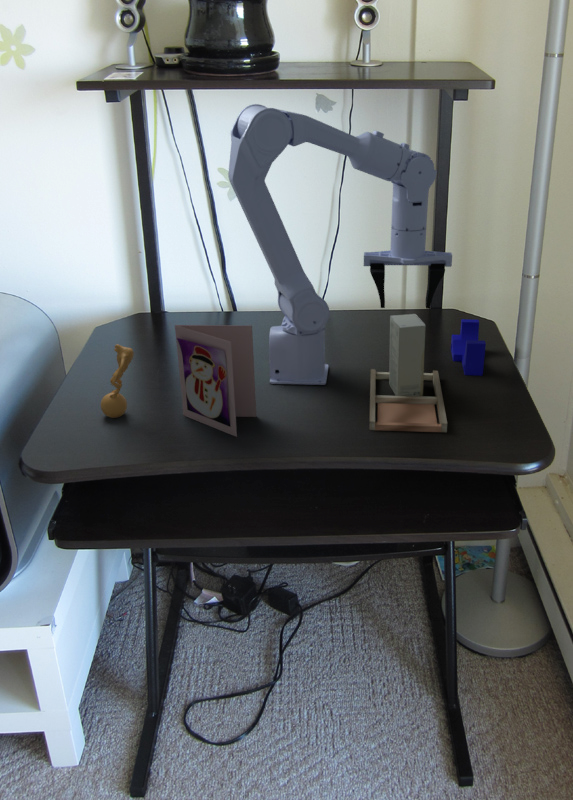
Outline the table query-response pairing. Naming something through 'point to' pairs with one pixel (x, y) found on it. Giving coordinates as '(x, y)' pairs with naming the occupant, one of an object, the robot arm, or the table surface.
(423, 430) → the pink framed panel
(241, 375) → the greeting card
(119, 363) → the figurine
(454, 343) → the cable clip
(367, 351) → the table surface
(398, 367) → the skincare box
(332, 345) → the table surface
